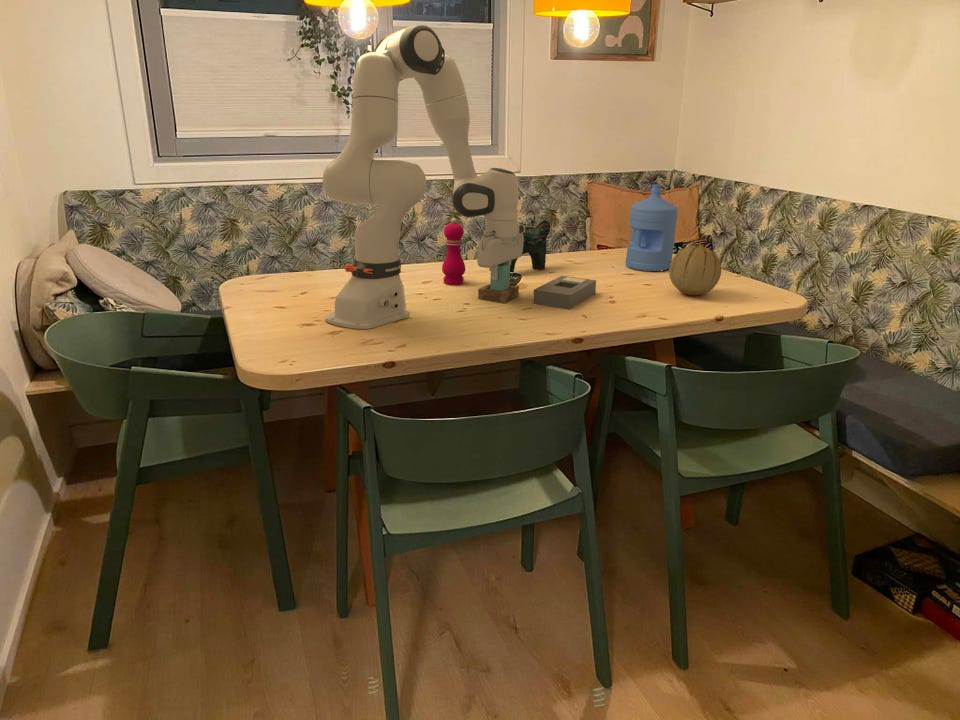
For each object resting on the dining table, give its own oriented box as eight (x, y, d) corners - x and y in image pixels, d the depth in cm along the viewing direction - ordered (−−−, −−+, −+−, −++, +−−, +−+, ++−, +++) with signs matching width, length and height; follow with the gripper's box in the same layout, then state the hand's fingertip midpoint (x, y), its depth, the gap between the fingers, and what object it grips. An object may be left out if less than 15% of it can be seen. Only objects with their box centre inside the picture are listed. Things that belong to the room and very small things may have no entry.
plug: (502, 294, 195) (503, 261, 191) (490, 292, 197) (490, 259, 193) (509, 291, 198) (510, 258, 195) (497, 289, 200) (497, 257, 197)
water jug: (646, 260, 250) (654, 181, 240) (680, 269, 238) (690, 186, 228) (615, 265, 242) (622, 183, 232) (649, 274, 230) (658, 188, 220)
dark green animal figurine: (539, 266, 239) (541, 207, 232) (552, 269, 234) (555, 210, 227) (496, 274, 227) (497, 212, 220) (509, 277, 222) (511, 215, 215)
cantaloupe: (673, 300, 199) (679, 248, 194) (662, 287, 213) (667, 239, 208) (724, 301, 199) (732, 250, 194) (710, 288, 213) (716, 240, 208)
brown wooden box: (504, 303, 193) (505, 293, 192) (478, 299, 197) (478, 288, 196) (518, 296, 200) (518, 286, 199) (492, 292, 204) (492, 282, 203)
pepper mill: (466, 280, 218) (467, 216, 211) (463, 286, 211) (464, 220, 204) (443, 279, 218) (443, 215, 211) (440, 285, 211) (440, 219, 204)
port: (569, 309, 189) (570, 294, 187) (533, 303, 194) (533, 288, 192) (595, 293, 205) (596, 279, 204) (561, 288, 210) (561, 274, 209)
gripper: (492, 235, 181) (491, 286, 186) (528, 225, 198) (526, 273, 203) (472, 232, 184) (471, 283, 189) (508, 223, 201) (507, 270, 206)
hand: (499, 277), depth 196 cm, fingers closed on plug, 4 cm apart
